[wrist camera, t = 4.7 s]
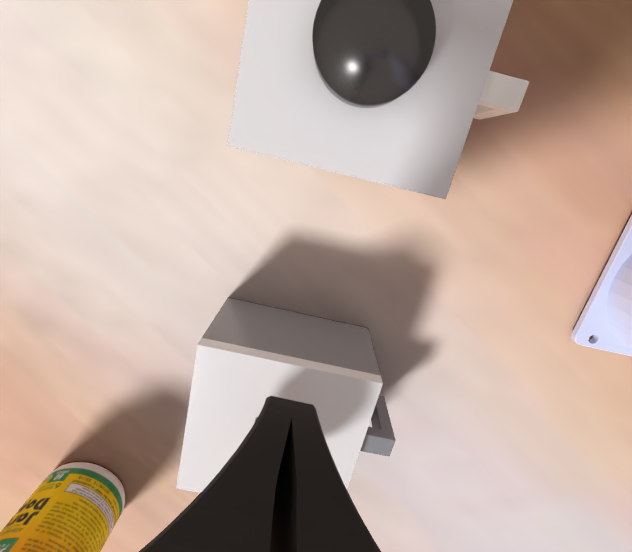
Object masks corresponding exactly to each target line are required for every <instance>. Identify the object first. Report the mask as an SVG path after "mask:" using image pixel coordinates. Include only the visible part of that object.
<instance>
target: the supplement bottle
mask: <svg viewBox="0 0 632 552" xmlns="http://www.w3.org/2000/svg"><path fill="white" fill-rule="evenodd" d="M124 506H125V492H124V488H123V486H122V484H121V482H120V480H119V479H118V478H117V477H116V476H115V475H114V474H113V473H112V472H110V471H109V470H107V469H105V468H103V467H101V466H99V465H96V464H92V463H88V462H74V463H68V464H65V465H62V466H60V467H58V468H57V469H55V470H54V471H53V472H51V473H50V474H49V476H48V477H47V478H46V479H45V480H44V481H43V482H42V483H41V485H40V486H39V487H38V488H37V489H36V491H35V492H34V493H33V494H32V495H31V497H30V498H29V499H28V500H27V501H26V502H25V503H24V505H23V506H22V507H21V508H20V509H19V511H18V512H17V513H16V514H15V516H14V517H13V518H12V519H11V520H10V521H9V522H8V524H7V525H6V526H5V527H4V529H3V530H2V531H1V532H0V552H100V551H101V549H102V547H103V546H104V544H105V542H106V540H107V538H108V536H109V535H110V533H111V531H112V529H113V528H114V526H115V524H116V522H117V520H118V519H119V517H120V515H121V513H122V511H123V509H124Z"/></svg>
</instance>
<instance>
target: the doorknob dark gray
mask: <svg viewBox="0 0 632 552" xmlns="http://www.w3.org/2000/svg"><path fill="white" fill-rule="evenodd" d="M435 38H436V21H435V14H434V10H433V6H432V3H431V1H430V0H321V1H320V3H319V6H318V9H317V11H316V15H315V19H314V24H313V35H312V41H313V53H314V60H315V65H316V68H317V71H318V74H319V76H320V78H321V80H322V82H323V83H324V85H325V86H326V87H327V89H328V90H329V91H330V92H331V93H332V94H333V95H334V96H335V97H336V98H338V99H339V100H341V101H342V102H344V103H346V104H348V105H351V106H354V107H360V108H375V107H380V106H383V105H386V104H388V103H391V102H392V101H394V100H396V99H397V98H399V97H400V96H402V95H403V94H404V93H406V92H407V91H408V90H410V89H411V88H412V87H413V86H414V85H415V84H416V82H417V81H418V80H419V79H420V78H421V76H422V75H423V73H424V71H425V70H426V68H427V66H428V64H429V62H430V59H431V56H432V53H433V50H434V45H435Z"/></svg>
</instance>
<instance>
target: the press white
mask: <svg viewBox="0 0 632 552" xmlns="http://www.w3.org/2000/svg"><path fill="white" fill-rule="evenodd" d="M320 1H321V0H249V3H248V9H247V16H246V23H245V30H244V36H243V43H242V50H241V57H240V63H239V70H238V77H237V83H236V90H235V97H234V104H233V110H232V117H231V124H230V130H229V137H228V144H227V146H229V147H233V148H237V149H242V150H246V151H250V152H254V153H258V154H262V155H266V156H270V157H274V158H278V159H283V160H287V161H291V162H295V163H299V164H303V165H307V166H311V167H315V168H319V169H324V170H328V171H332V172H336V173H340V174H344V175H348V176H352V177H356V178H360V179H365V180H369V181H373V182H377V183H381V184H385V185H389V186H393V187H397V188H401V189H406V190H410V191H414V192H418V193H422V194H426V195H430V196H434V197H438V198H442V199H446V197H447V194H448V191H449V188H450V185H451V182H452V179H453V176H454V173H455V171H456V168H457V165H458V162H459V159H460V156H461V153H462V150H463V147H464V144H465V141H466V138H467V135H468V132H469V129H470V126H471V123H472V121H473V118H475V119H479V120H481V119H485V118H490V117H495V116H500V115H504V114H509V113H514V112H518V111H519V108H520V106H521V103H522V100H523V98H524V95H525V92H526V90H527V87H528V84H529V82H530V81H527V80H523V79H519V78H515V77H512V76H508V75H504V74H501V73H497V72H493V71H490V68H491V65H492V62H493V59H494V56H495V53H496V50H497V47H498V44H499V41H500V38H501V35H502V32H503V29H504V26H505V24H506V21H507V18H508V15H509V12H510V9H511V6H512V3H513V0H430V1H431V3H432V6H433V10H434V14H435V21H436V38H435V45H434V50H433V53H432V56H431V59H430V62H429V64H428V66H427V68H426V70H425V71H424V73H423V75H422V76H421V78H420V79H419V80H418V81H417V82H416V84H415V85H414V86H413V87H412V88H411V89H410V90H408V91H407V92H406V93H404V94H403V95H402V96H400V97H399V98H397V99H396V100H394V101H392V102H391V103H388V104H386V105H383V106H380V107H375V108H360V107H354V106H351V105H348V104H346V103H344V102H342V101H341V100H339V99H338V98H336V97H335V96H334V95H333V94H332V93H331V92H330V91H329V90H328V89H327V87H326V86H325V85H324V83H323V82H322V80H321V78H320V76H319V74H318V71H317V68H316V65H315V60H314V53H313V41H312V35H313V24H314V19H315V15H316V11H317V9H318V6H319V3H320Z"/></svg>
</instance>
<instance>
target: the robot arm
mask: <svg viewBox="0 0 632 552" xmlns="http://www.w3.org/2000/svg"><path fill="white" fill-rule="evenodd" d="M592 335H593V337H592V338H591V339H590V340H589V337H590V336H592ZM571 336H572V339H573V341H575V342H576V343H577V344H579V345H583V346H588V347H592V348H597V349H601V350H605V351H610V352H614V353H619V354H623V355H628V356H632V215H631V217H630V219H629V221H628V223H627V225H626V227H625V229H624V231H623V233H622V235H621V237H620V239H619V241H618V243H617V245H616V247H615V249H614V251H613V253H612V255H611V257H610V259H609V261H608V263H607V264H606V266H605V268H604V270H603V272H602V274H601V276H600V278H599V280H598V282H597V284H596V286H595V288H594V290H593V292H592V294H591V296H590V298H589V300H588V302H587V304H586V306H585V308H584V310H583V312H582V314H581V316H580V318H579V320H578V322H577V324H576V326H575V328H574V330H573V332H572V335H571ZM139 552H381V551H380V549H379V547H378V546H377V544H376V543H375V541H374V539H373V538H372V536H371V534H370V533H369V531H368V529H367V527H366V526H365V524H364V522H363V520H362V519H361V517H360V515H359V513H358V511H357V509H356V507H355V505H354V504H353V502H352V500H351V498H350V495H349V493H348V491H347V489H346V487H345V485H344V483H343V481H342V479H341V476H340V474H339V472H338V470H337V467H336V465H335V462H334V460H333V458H332V455H331V453H330V450H329V448H328V445H327V442H326V440H325V437H324V434H323V431H322V428H321V425H320V422H319V418H318V415H317V411H316V408H315V407H314V405H312V404H307V403H303V402H298V401H294V400H289V399H284V398H280V397H275V396H269V397H267V398H266V400H265V404H264V406H263V408H262V410H261V412H260V414H259V416H258V418H257V420H256V421H255V423H254V425H253V427H252V428H251V430H250V431H249V433H248V434H247V436H246V437H245V438H244V440H243V441H242V443H241V444H240V446H239V447H238V449H237V450H236V451H235V453H234V454H233V455H232V456H231V458H230V459H229V460H228V461H227V463H226V464H225V465H224V466H223V468H222V469H221V470H220V472H219V473H218V474H217V475H216V476H215V477H214V479H213V480H212V481H211V482H210V483H209V484H208V485H207V487H206V488H205V489H204V490H203V491H202V492H201V493H200V494H199V495H198V496H197V497H196V498H195V499H194V501H193V502H192V503H191V504H190V505H189V506H188V507H187V508H186V509H185V510H184V511H183V512H182V513H181V514H180V515H179V516H178V517H176V518H175V519H174V520H173V521H172V522H171V523H170V524H169V525H168V526H167V527H166V528H165V529H164V530H163V531H162V532H161V533H160V534H159V535H158V536H156V537H155V538H154V539H153V540H152V541H151V542H150V543H148V544H147V545H146V546H145V547H144V548H143V549H141V550H140V551H139Z"/></svg>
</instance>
